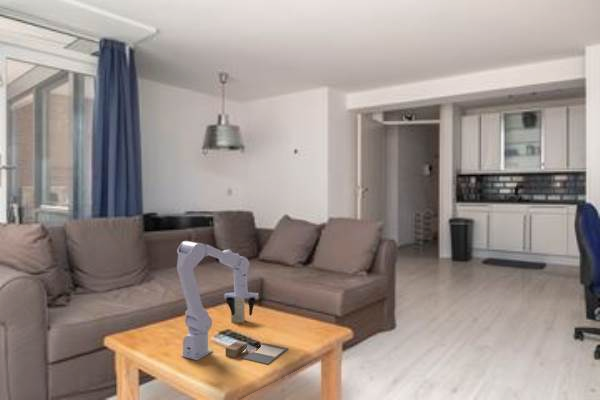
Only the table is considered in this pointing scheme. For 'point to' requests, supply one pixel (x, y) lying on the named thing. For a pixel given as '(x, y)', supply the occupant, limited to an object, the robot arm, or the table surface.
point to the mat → (265, 354)
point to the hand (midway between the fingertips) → (242, 314)
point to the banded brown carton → (236, 349)
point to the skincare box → (238, 311)
